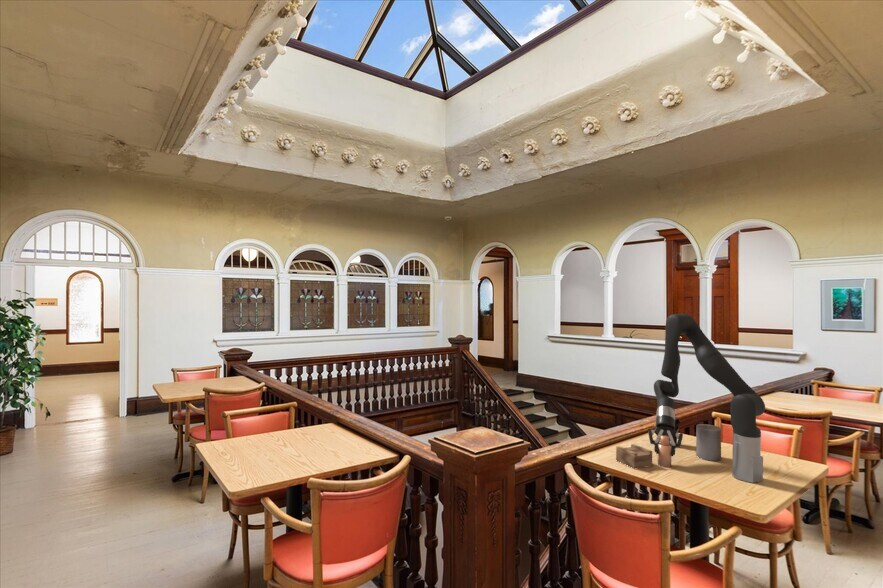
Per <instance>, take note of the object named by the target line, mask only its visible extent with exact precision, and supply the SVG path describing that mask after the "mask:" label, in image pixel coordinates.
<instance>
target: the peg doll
mask: <svg viewBox="0 0 883 588" xmlns="http://www.w3.org/2000/svg"><path fill="white" fill-rule="evenodd" d="M671 451H672V445H670V444H669V436H664V435H661V438H660V443H658V454H657V465H658V466H659V465H660V467H662V466H664V467H663V468H672V458H673V456H671Z"/></svg>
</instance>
